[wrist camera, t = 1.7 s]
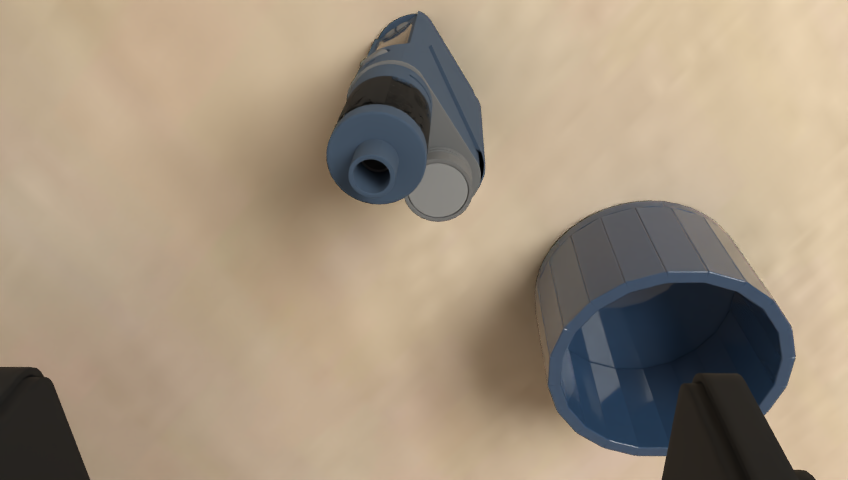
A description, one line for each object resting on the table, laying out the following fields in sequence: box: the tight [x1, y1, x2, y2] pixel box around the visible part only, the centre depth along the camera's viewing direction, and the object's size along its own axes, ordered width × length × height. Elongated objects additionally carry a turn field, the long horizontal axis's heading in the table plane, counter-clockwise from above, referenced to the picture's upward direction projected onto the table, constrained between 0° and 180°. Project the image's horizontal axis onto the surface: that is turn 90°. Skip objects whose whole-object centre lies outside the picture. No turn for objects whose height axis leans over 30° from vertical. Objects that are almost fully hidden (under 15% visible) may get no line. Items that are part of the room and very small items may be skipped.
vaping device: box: [326, 11, 485, 222], centre depth 21 cm, size 3×5×12 cm, turn 32°
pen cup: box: [535, 201, 796, 456], centre depth 28 cm, size 9×9×6 cm
